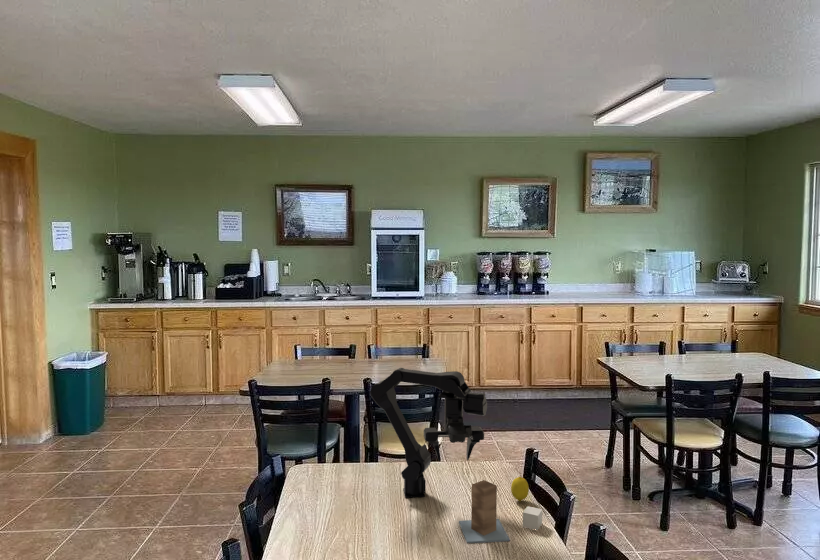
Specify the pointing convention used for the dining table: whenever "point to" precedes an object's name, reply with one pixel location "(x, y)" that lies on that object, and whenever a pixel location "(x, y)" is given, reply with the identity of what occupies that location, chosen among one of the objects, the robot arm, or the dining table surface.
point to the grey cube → (532, 518)
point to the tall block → (484, 507)
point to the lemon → (519, 488)
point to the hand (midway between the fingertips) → (453, 460)
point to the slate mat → (476, 537)
